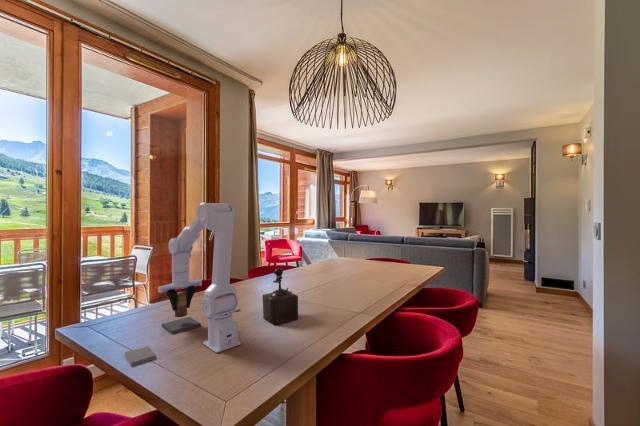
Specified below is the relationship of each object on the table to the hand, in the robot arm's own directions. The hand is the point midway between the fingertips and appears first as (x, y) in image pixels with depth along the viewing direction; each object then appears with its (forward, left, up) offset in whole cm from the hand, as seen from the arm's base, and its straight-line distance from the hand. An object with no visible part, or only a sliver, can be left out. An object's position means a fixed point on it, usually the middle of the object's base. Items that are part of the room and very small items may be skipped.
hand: (181, 308), depth 107 cm
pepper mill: (-18, -30, -7) cm, 36 cm away
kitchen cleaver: (+12, -23, -7) cm, 27 cm away
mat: (0, 0, -6) cm, 6 cm away
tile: (-12, +17, -7) cm, 22 cm away
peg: (0, 0, -2) cm, 2 cm away
